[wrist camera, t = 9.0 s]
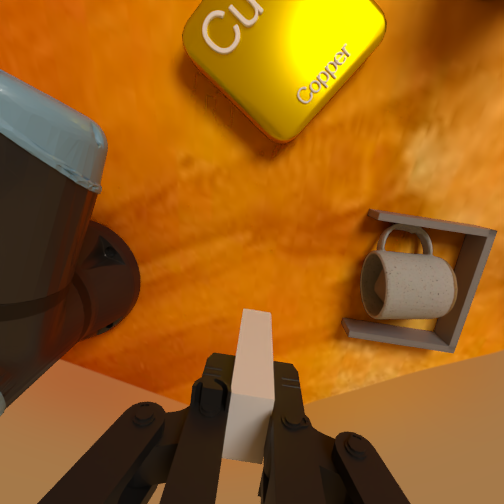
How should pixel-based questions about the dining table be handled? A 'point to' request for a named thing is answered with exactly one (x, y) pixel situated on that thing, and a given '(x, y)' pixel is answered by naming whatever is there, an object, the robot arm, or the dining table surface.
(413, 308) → the ceramic mug
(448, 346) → the box
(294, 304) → the dining table surface
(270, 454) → the robot arm
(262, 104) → the element tile
